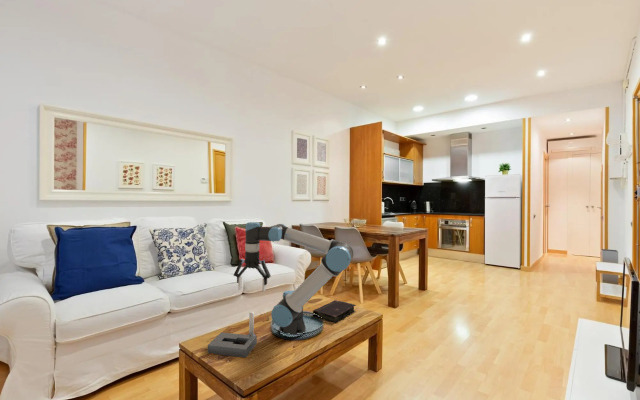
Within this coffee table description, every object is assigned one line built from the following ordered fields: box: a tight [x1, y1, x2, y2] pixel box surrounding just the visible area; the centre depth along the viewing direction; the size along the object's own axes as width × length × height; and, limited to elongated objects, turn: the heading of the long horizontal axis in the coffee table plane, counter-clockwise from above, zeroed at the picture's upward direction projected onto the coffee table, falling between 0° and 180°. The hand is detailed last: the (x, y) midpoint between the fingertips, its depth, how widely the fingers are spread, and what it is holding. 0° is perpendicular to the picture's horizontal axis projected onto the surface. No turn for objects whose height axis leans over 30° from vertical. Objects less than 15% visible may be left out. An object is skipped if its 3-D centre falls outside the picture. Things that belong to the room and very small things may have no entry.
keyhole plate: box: [207, 331, 258, 359], centre depth 155 cm, size 20×14×4 cm
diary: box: [312, 299, 357, 324], centre depth 202 cm, size 19×25×5 cm
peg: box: [247, 311, 257, 336], centre depth 166 cm, size 5×5×14 cm
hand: (251, 289), depth 166 cm, fingers open, 13 cm apart
